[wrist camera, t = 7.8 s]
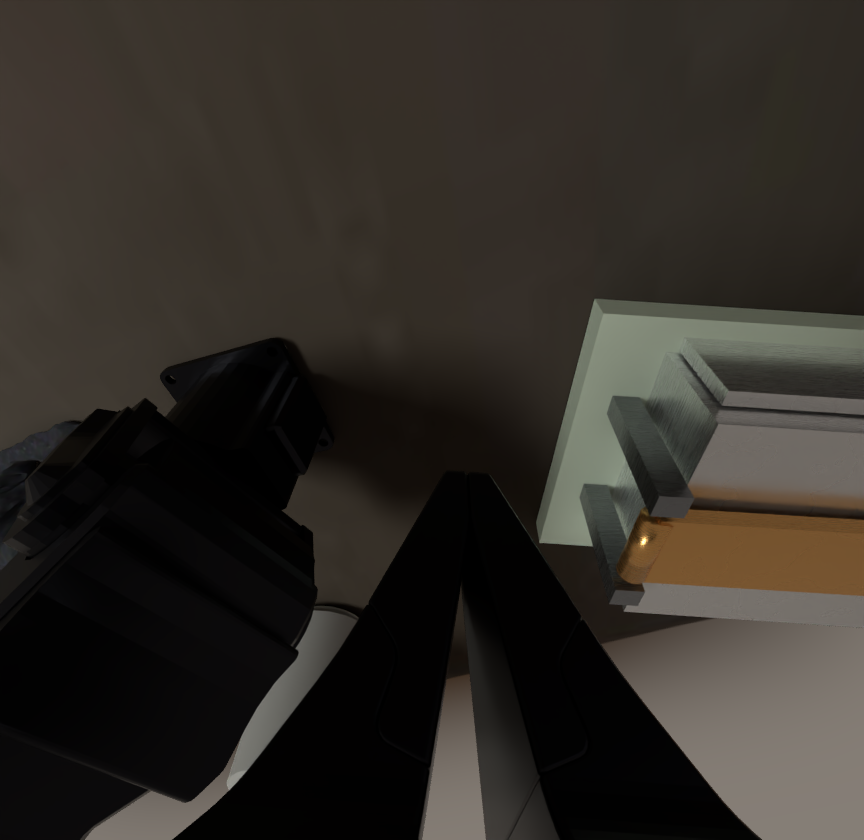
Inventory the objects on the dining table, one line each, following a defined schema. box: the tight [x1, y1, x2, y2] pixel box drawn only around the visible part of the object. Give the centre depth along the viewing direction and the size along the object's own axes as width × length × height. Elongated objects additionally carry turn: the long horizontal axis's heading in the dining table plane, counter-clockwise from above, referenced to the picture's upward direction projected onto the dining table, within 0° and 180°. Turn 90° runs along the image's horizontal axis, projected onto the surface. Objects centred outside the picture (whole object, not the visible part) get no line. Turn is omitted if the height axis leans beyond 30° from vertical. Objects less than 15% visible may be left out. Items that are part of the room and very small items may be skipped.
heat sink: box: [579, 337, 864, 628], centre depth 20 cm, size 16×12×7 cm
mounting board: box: [536, 299, 864, 546], centre depth 24 cm, size 20×14×2 cm
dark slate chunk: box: [0, 422, 80, 571], centre depth 30 cm, size 15×22×5 cm
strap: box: [616, 507, 864, 596], centre depth 19 cm, size 15×4×1 cm, turn 87°
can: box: [226, 606, 358, 790], centre depth 32 cm, size 8×8×12 cm
